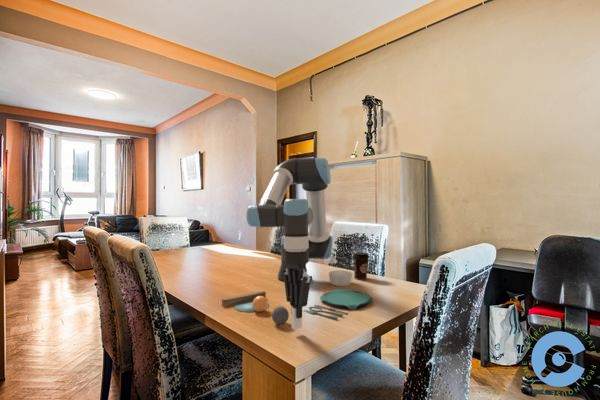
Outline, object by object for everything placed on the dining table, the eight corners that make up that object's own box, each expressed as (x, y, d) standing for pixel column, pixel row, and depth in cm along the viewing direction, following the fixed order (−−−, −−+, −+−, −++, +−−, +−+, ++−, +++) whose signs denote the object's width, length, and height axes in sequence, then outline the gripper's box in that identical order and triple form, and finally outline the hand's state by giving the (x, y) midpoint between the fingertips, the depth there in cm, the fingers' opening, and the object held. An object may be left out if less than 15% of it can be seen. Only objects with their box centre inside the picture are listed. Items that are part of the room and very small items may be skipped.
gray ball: (286, 319, 104) (286, 303, 104) (290, 326, 99) (290, 308, 99) (270, 321, 103) (270, 305, 103) (273, 327, 97) (273, 310, 97)
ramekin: (324, 282, 152) (324, 271, 152) (344, 279, 157) (344, 269, 157) (336, 288, 142) (336, 276, 142) (356, 285, 147) (356, 274, 147)
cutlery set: (379, 300, 125) (379, 294, 125) (340, 324, 102) (340, 317, 102) (338, 291, 138) (338, 286, 138) (294, 311, 114) (294, 305, 114)
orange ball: (266, 307, 116) (266, 293, 116) (268, 313, 110) (268, 297, 110) (251, 309, 114) (251, 294, 114) (253, 314, 109) (253, 299, 109)
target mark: (266, 299, 126) (266, 298, 126) (271, 310, 113) (271, 309, 113) (233, 302, 122) (233, 301, 122) (235, 313, 110) (235, 313, 110)
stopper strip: (265, 297, 128) (265, 291, 128) (224, 306, 117) (224, 300, 117) (263, 296, 129) (263, 290, 129) (222, 305, 119) (222, 298, 119)
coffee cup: (371, 277, 160) (371, 252, 160) (366, 281, 153) (366, 255, 153) (356, 275, 165) (355, 251, 165) (349, 279, 158) (349, 253, 158)
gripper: (319, 251, 90) (319, 331, 90) (294, 246, 101) (294, 318, 101) (298, 254, 86) (298, 338, 86) (274, 248, 96) (275, 323, 96)
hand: (296, 327), depth 93 cm, fingers closed
